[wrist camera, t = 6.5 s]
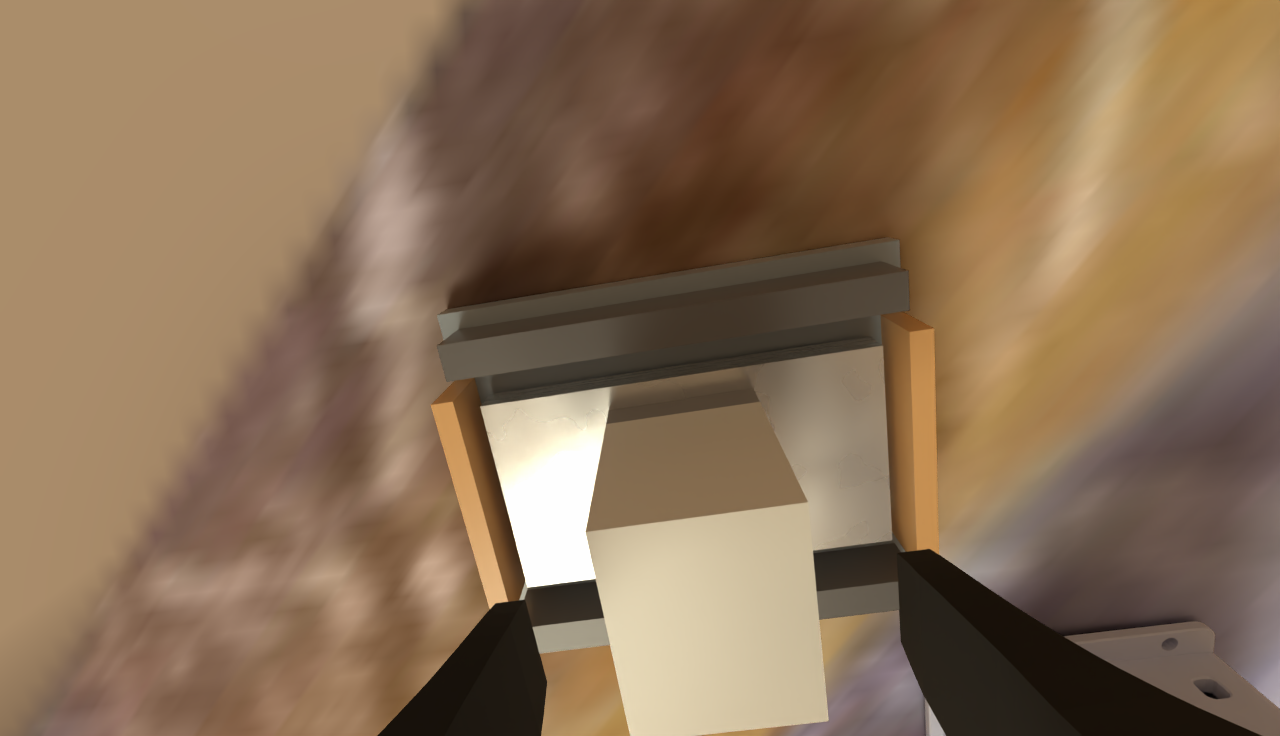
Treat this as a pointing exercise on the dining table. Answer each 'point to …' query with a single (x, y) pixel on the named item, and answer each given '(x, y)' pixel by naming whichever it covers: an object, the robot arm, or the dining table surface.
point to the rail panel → (677, 335)
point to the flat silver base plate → (783, 381)
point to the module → (705, 569)
